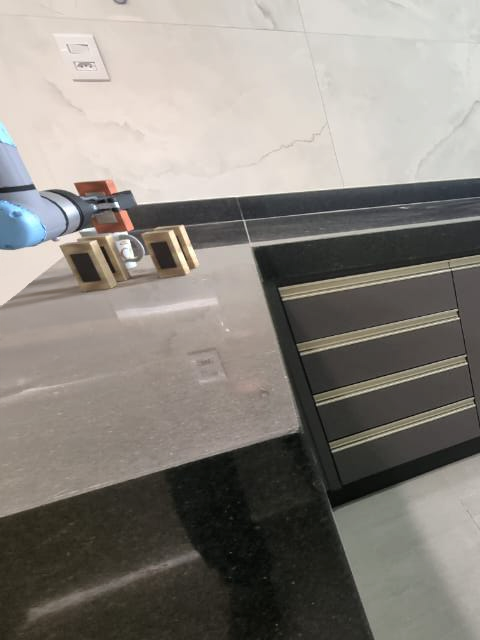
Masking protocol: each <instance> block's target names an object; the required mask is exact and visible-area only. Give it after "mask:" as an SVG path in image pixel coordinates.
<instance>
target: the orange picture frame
mask: <svg viewBox="0 0 480 640" xmlns="http://www.w3.org/2000/svg"><path fill="white" fill-rule="evenodd" d="M73 185H74V187H75V189H76V191H77V194H78V196H84V197H86V196H96V197H97V198H98V197H104V196H109V195H112V194H113V193H118V192H119V191H118V189H117V187H116V185H115V182H114V180H113V179H101V180H87V181H76V182H73ZM91 223H92V225H93V227H95V229H96V231H97V233H98V234H106V233H116V232H127V233H128V232H130V231H133V230H134V229H135V227H134V225H133V223H132V221H131V219H130V216H129V214H128V212H127V210H122V211H120V212H110V211H109V210H107V211H104V214H101V215H97V216H94V217H93V218H92V219H91Z"/></svg>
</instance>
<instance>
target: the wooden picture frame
mask: <svg viewBox="0 0 480 640" xmlns="http://www.w3.org/2000/svg"><path fill="white" fill-rule="evenodd" d="M140 236H141V238H142V240H143V243H144V245H145V247H146V249H147V251H148V254H149V256H150V259H151V261H152V264H153V265H154V268H155V270H156V272H157V274H158V277H159V278H160V279H163V278H164V279H165V278H171V277H172V278H173V277H179V276H180V277H181V276H187V275H189V274H190V273H191V270H190V269H197V268H198V267H200V262H199V260H198V258H197V255H196V253H195V251H194V247H193V245H192V243H191V240H190V238H189V236H188V233H187V231H186V228H185V225H184V224H177V225H167V226H158V227H155V228H153V231H146V232H143V233H141V234H140Z"/></svg>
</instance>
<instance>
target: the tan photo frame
mask: <svg viewBox="0 0 480 640" xmlns="http://www.w3.org/2000/svg"><path fill="white" fill-rule="evenodd" d="M59 249H60V250H61V252H62V254H63V256H64V258H65V260H66V262H67V264H68V266H69V268H70V270H71V272H72V274H73V276H74V278H75V280H76V282H77V284H78V285H79V286H78V287H80V289H81V291H82V292H83V293H85V292H94V291H101V290H102V291H103V290H109V289H110V290H111V289H113V288H115V287H116V286H118V282H124V281H127V280H129V279H130V278H132V276H131V274H130V271H129V269H127V267H126V265H125V263H124V261H123V259H122V256H121V254H120V252H119V250H118V248H117V246H116V243H115V241H114V239H113V237H112V235H111V234H109V235H98V236H88V237H82V236H81V237H80V238H77V239H76V241H72V242H66V243H62V244H60V245H59Z"/></svg>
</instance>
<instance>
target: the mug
mask: <svg viewBox="0 0 480 640" xmlns="http://www.w3.org/2000/svg"><path fill="white" fill-rule="evenodd" d="M78 233H79V235H80V236H81V238H82V237H88V236H98V235H109V234H111V235H112V237H113V239H114V241H115V243H116V246H117V248H118V250H119V252H120V254H121V256H122V259H123V261H124V263H125V265H126V267H127V269H128V270H129V269H130V270H131V269H134V268H136V267H137V262H140V261H142V260H143V259H144V257H145V254H146V253H145V248H144V246H143V244H142V243H141V241H139V239H138V238H136V237H135V236H133V235H131V234H129V233H128V231H127V232H116V233H106V234H98V233H97V231H96V229H95V227H94V226H93V227H89V228H88V227H86V228H85V229H83V230H80V231H78ZM131 242H132V243H133V244H134V245H136V247H137V250H138V254H137V257H135V254H134V251H133V247H132V244H131Z"/></svg>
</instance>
